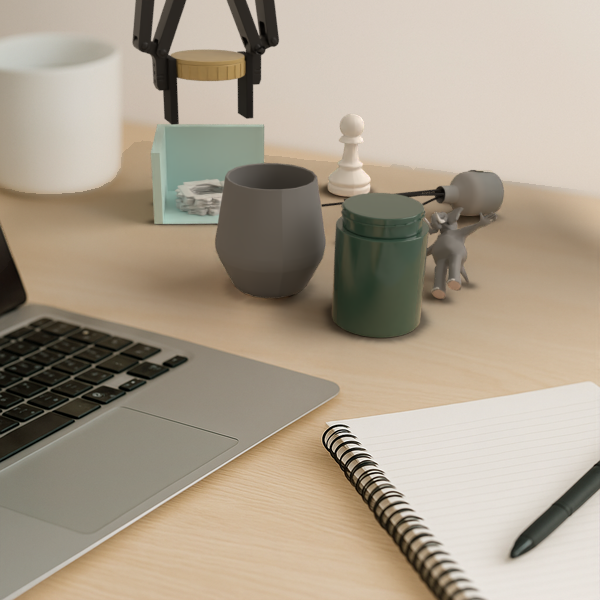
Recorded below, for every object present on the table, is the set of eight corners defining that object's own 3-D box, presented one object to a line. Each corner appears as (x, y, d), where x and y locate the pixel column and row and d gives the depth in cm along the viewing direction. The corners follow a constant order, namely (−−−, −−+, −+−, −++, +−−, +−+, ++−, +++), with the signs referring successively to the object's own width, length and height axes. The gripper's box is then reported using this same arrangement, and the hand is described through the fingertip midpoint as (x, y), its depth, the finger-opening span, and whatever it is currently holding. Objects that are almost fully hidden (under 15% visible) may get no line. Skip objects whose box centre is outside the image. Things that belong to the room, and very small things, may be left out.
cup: (209, 268, 76) (206, 162, 71) (308, 261, 78) (311, 157, 73) (226, 314, 67) (224, 196, 63) (336, 304, 69) (342, 190, 65)
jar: (410, 297, 71) (420, 190, 67) (428, 337, 65) (440, 221, 60) (327, 298, 70) (332, 190, 66) (336, 338, 64) (342, 221, 60)
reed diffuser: (522, 163, 86) (358, 165, 77) (526, 229, 86) (363, 239, 77) (460, 176, 95) (307, 180, 86) (464, 236, 96) (312, 246, 86)
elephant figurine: (378, 295, 72) (387, 227, 78) (421, 334, 74) (427, 265, 80) (475, 244, 66) (476, 175, 72) (517, 288, 68) (515, 218, 75)
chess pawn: (323, 184, 99) (326, 109, 95) (364, 183, 100) (369, 108, 96) (332, 198, 95) (335, 119, 91) (374, 196, 95) (379, 119, 92)
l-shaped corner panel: (154, 224, 86) (150, 153, 82) (160, 188, 96) (157, 124, 93) (270, 222, 87) (270, 152, 84) (263, 187, 98) (263, 124, 94)
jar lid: (188, 65, 90) (187, 47, 89) (255, 70, 88) (255, 52, 87) (158, 77, 83) (157, 58, 82) (230, 83, 81) (229, 63, 80)
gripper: (103, -130, 71) (121, 134, 81) (318, -121, 78) (311, 119, 88) (85, -128, 77) (104, 117, 87) (287, -120, 85) (283, 104, 94)
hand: (209, 118), depth 87 cm, fingers closed on jar lid, 7 cm apart
